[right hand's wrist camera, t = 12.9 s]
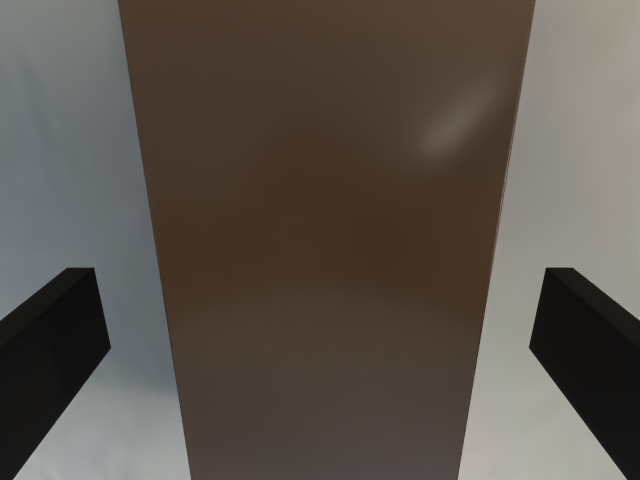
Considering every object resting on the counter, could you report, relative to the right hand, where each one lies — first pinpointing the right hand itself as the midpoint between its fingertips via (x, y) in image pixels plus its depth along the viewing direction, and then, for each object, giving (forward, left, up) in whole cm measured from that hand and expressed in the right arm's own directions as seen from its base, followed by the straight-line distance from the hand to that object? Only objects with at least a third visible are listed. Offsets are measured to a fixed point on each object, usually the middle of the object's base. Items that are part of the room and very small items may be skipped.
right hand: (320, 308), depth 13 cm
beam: (+6, -18, -4) cm, 19 cm away
